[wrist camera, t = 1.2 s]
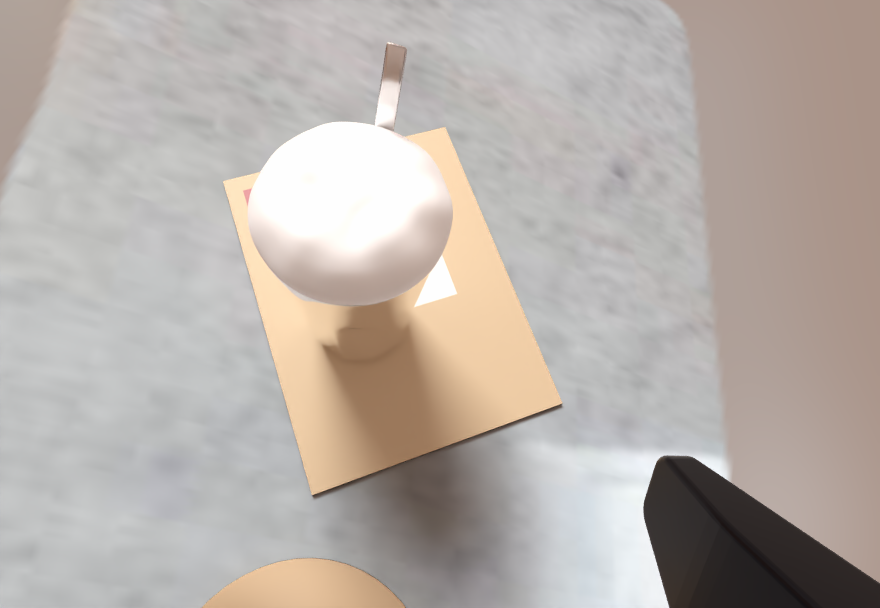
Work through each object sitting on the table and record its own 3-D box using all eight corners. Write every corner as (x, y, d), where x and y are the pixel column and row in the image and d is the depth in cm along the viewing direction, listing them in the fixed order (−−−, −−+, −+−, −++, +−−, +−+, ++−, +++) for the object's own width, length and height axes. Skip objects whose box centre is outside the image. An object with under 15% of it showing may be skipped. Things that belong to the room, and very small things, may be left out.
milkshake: (446, 263, 22) (499, 76, 12) (401, 398, 20) (424, 299, 11) (330, 226, 22) (297, 11, 12) (275, 357, 20) (186, 222, 11)
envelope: (561, 403, 21) (562, 403, 20) (312, 495, 19) (311, 495, 19) (444, 128, 24) (445, 126, 24) (223, 182, 22) (223, 180, 22)
